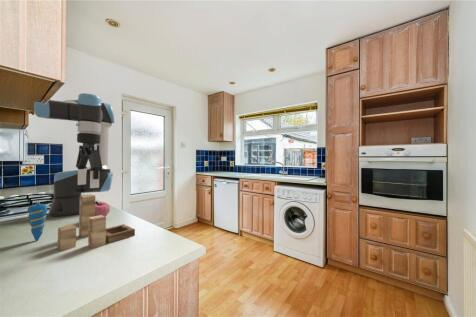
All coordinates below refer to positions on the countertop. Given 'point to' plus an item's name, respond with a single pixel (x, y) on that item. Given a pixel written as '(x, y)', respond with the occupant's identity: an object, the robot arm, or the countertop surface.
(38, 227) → the ornament
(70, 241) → the short pin
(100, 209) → the apple
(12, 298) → the countertop surface
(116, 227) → the collar block
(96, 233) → the medium pin
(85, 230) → the long pin
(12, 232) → the countertop surface
